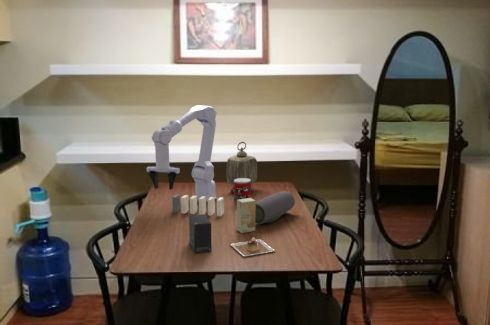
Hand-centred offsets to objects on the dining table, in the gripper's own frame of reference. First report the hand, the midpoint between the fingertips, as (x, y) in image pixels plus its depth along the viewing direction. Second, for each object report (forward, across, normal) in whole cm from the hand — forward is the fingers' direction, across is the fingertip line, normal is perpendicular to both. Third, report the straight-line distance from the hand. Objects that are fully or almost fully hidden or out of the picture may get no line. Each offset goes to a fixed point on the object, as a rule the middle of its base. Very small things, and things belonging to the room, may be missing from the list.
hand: (163, 188), depth 208 cm
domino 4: (+10, +18, 0) cm, 20 cm away
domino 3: (+10, +14, 0) cm, 17 cm away
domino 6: (+10, +26, 0) cm, 27 cm away
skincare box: (+10, +41, -16) cm, 45 cm away
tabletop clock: (+10, +26, +38) cm, 47 cm away
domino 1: (+10, +6, 0) cm, 11 cm away
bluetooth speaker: (+10, +48, -1) cm, 49 cm away
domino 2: (+10, +10, 0) cm, 14 cm away
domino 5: (+10, +22, 0) cm, 24 cm away
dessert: (+11, +47, -34) cm, 59 cm away
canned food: (+10, +30, +18) cm, 37 cm away
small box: (+10, +29, -36) cm, 48 cm away
